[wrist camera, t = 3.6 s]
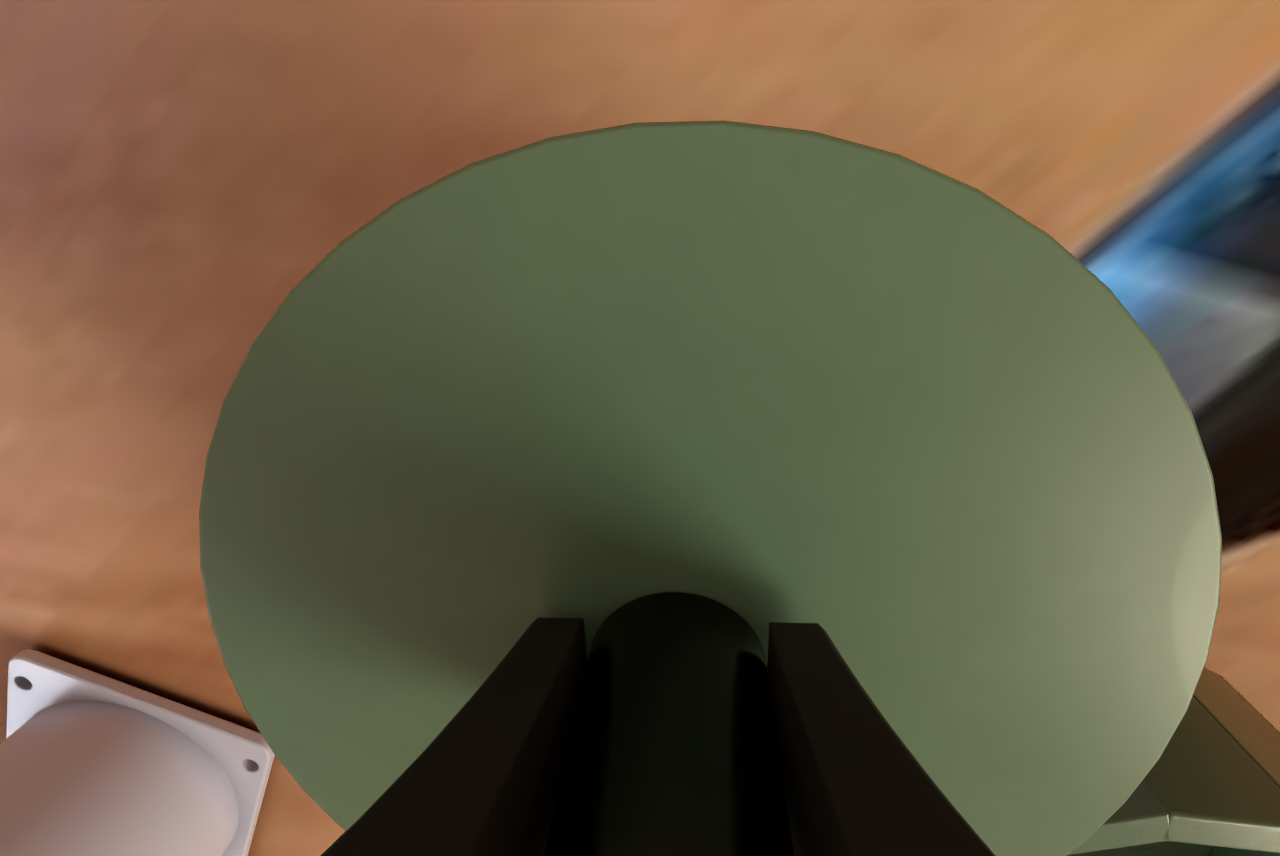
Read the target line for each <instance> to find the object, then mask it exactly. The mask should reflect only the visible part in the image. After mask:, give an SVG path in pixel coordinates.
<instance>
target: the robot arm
mask: <svg viewBox="0 0 1280 856" xmlns="http://www.w3.org/2000/svg"><path fill="white" fill-rule="evenodd" d="M586 665H587V654H586V642H585V631H584V619H583V618H541V617H538V618H537V619H536V620H535V621H534V622H533V623H532V624H531V625H530V626H529V627H528V628H527V630H526V631H525V632H524V633H523V635H522V636H521V637H520V638H519V640H518V641H517V642H516V643H515V645H514V646H513V647H512V648H511V650H510V651H509V652H508V653H507V655H506V656H505V657H504V658H503V660H502V661H501V662H500V663H499V664H498V666H497V667H496V668H495V669H494V671H493V672H492V673H491V674H490V675H489V677H488V678H487V679H486V680H485V681H484V683H483V684H482V685H481V686H480V687H479V689H478V690H477V691H476V692H475V693H474V695H473V696H472V697H471V698H470V699H469V700H468V702H467V703H466V704H465V705H464V706H463V707H462V708H461V710H460V711H459V712H458V713H457V714H456V715H455V716H454V718H453V719H452V720H451V721H450V722H449V723H448V724H447V725H446V727H445V728H444V729H443V730H442V731H441V732H440V733H439V735H438V736H437V737H436V738H435V739H434V740H433V741H432V743H431V744H430V745H429V746H428V747H427V748H426V749H425V750H424V751H423V752H422V754H421V755H420V756H419V757H418V758H417V759H416V760H415V761H414V762H413V763H412V764H411V765H410V766H409V767H408V768H407V769H406V770H405V771H404V772H403V773H402V774H401V775H400V777H399V778H398V779H397V780H396V781H395V782H394V783H393V784H392V785H391V786H390V787H389V788H388V789H387V790H386V791H385V792H384V793H383V794H382V795H381V796H380V797H379V798H378V799H377V800H376V802H375V803H374V804H373V805H372V806H371V807H370V808H369V809H368V810H367V811H366V812H365V813H364V814H363V815H362V816H361V817H360V818H359V819H358V820H357V821H356V822H355V823H354V824H353V825H352V826H351V827H350V828H349V829H348V830H347V831H346V832H345V833H344V834H343V835H341V836H340V837H339V838H338V839H337V840H336V841H335V842H334V843H333V844H332V845H331V846H330V847H329V848H328V849H327V850H326V851H325V852H324V853H323V854H322V855H321V856H544V853H545V849H546V844H547V840H548V835H549V831H550V826H551V822H552V817H553V813H554V808H555V804H556V799H557V795H558V790H559V786H560V781H561V777H562V772H563V768H564V763H565V759H566V754H567V750H568V745H569V741H570V736H571V732H572V727H573V723H574V719H575V714H576V710H577V705H578V701H579V696H580V692H581V687H582V683H583V678H584V674H585V669H586ZM767 671H768V678H769V685H770V692H771V699H772V706H773V713H774V720H775V727H776V734H777V739H778V746H779V753H780V760H781V767H782V774H783V781H784V788H785V795H786V802H787V809H788V816H789V823H790V830H791V837H792V844H793V851H794V856H996V855H995V854H994V853H993V852H992V851H991V850H990V848H989V847H988V846H987V845H986V844H985V843H984V841H983V840H982V839H981V838H980V837H979V836H978V834H977V833H976V832H975V831H974V830H973V828H972V827H971V826H970V825H969V824H968V823H967V821H966V820H965V819H964V818H963V817H962V816H961V814H960V813H959V812H958V811H957V810H956V808H955V807H954V806H953V805H952V804H951V802H950V801H949V800H948V799H947V797H946V796H945V795H944V794H943V793H942V791H941V790H940V789H939V788H938V786H937V785H936V784H935V783H934V781H933V780H932V779H931V778H930V776H929V775H928V774H927V773H926V771H925V770H924V769H923V767H922V766H921V765H920V764H919V762H918V761H917V760H916V758H915V757H914V756H913V754H912V753H911V752H910V751H909V749H908V748H907V747H906V745H905V744H904V743H903V741H902V740H901V739H900V738H899V736H898V735H897V734H896V732H895V731H894V730H893V729H892V727H891V726H890V724H889V723H888V722H887V720H886V719H885V718H884V716H883V715H882V714H881V712H880V711H879V709H878V708H877V707H876V705H875V704H874V702H873V701H872V700H871V698H870V697H869V695H868V694H867V693H866V691H865V690H864V688H863V687H862V685H861V684H860V683H859V681H858V680H857V678H856V677H855V675H854V674H853V672H852V671H851V669H850V668H849V666H848V665H847V663H846V662H845V660H844V659H843V657H842V656H841V654H840V653H839V651H838V650H837V648H836V646H835V645H834V643H833V642H832V640H831V639H830V637H829V635H828V634H827V632H826V631H825V630H824V629H823V628H822V627H821V626H820V625H819V624H818V623H782V622H769V639H768V662H767ZM274 756H275V754H274V753H273V752H272V750H271V748H270V747H269V745H268V744H267V742H266V741H265V739H264V737H263V736H262V734H261V733H259V732H256V731H253V730H251V729H248V728H245V727H242V726H240V725H237V724H234V723H232V722H229V721H226V720H223V719H221V718H218V717H215V716H213V715H210V714H207V713H204V712H202V711H199V710H196V709H194V708H191V707H188V706H185V705H183V704H180V703H177V702H175V701H172V700H169V699H166V698H164V697H161V696H158V695H156V694H153V693H150V692H148V691H145V690H142V689H139V688H137V687H134V686H131V685H129V684H126V683H123V682H120V681H118V680H115V679H112V678H110V677H107V676H104V675H101V674H99V673H96V672H93V671H91V670H88V669H85V668H82V667H80V666H77V665H74V664H72V663H69V662H66V661H63V660H61V659H58V658H55V657H53V656H50V655H47V654H44V653H42V652H39V651H36V650H31V649H28V650H23V651H21V652H20V653H18V654H17V655H16V656H14V657H13V658H11V659H10V661H9V664H8V694H7V728H6V739H5V740H4V741H3V742H2V743H0V856H248V853H249V849H250V845H251V842H252V838H253V834H254V830H255V827H256V823H257V819H258V816H259V812H260V808H261V804H262V801H263V797H264V793H265V789H266V786H267V782H268V778H269V775H270V771H271V767H272V763H273V760H274Z"/></svg>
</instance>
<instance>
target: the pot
mask: <svg viewBox="0 0 1280 856" xmlns="http://www.w3.org/2000/svg"><path fill="white" fill-rule="evenodd" d="M1067 856H1280V732H1279V731H1278V730H1277V729H1276V728H1275V727H1274V726H1273V725H1272V724H1271V723H1270V722H1269V721H1268V720H1266V719H1265V718H1264V717H1263V716H1262V715H1261V714H1260V713H1259V712H1258V711H1257V710H1256V709H1255V708H1254V707H1253V706H1252V705H1251V704H1250V703H1249V702H1248V701H1247V700H1246V699H1245V698H1244V697H1243V696H1242V695H1241V694H1240V693H1239V692H1237V691H1236V690H1235V689H1234V688H1233V687H1232V686H1231V685H1230V684H1229V683H1228V682H1227V681H1226V680H1225V679H1224V678H1223V677H1222V676H1220V675H1218V674H1216V673H1214V672H1212V671H1210V670H1208V669H1206V668H1205V667H1204V668H1203V671H1202V673H1201V676H1200V678H1199V681H1198V683H1197V686H1196V689H1195V691H1194V694H1193V696H1192V699H1191V701H1190V704H1189V707H1188V709H1187V711H1186V713H1185V715H1184V717H1183V718H1182V720H1181V722H1180V724H1179V725H1178V727H1177V729H1176V730H1175V732H1174V734H1173V736H1172V737H1171V739H1170V741H1169V743H1168V744H1167V746H1166V748H1165V750H1164V751H1163V753H1162V755H1161V757H1160V758H1159V760H1158V761H1157V762H1156V764H1155V765H1154V766H1153V767H1152V769H1151V770H1150V771H1149V773H1148V774H1147V775H1146V776H1145V778H1144V779H1143V780H1142V781H1141V783H1140V784H1139V785H1138V787H1137V788H1136V789H1135V790H1134V792H1133V793H1132V794H1131V796H1130V797H1129V798H1128V799H1127V801H1126V802H1125V803H1124V804H1123V805H1122V806H1121V807H1120V808H1119V809H1118V810H1117V811H1116V812H1115V813H1114V814H1113V815H1112V816H1111V817H1110V818H1109V819H1108V820H1107V821H1106V822H1105V823H1104V824H1103V825H1102V826H1101V827H1100V828H1099V829H1098V830H1097V831H1095V832H1094V833H1093V834H1092V835H1091V836H1090V837H1089V838H1088V839H1087V840H1086V841H1085V842H1084V843H1082V844H1081V845H1080V846H1079V847H1077V848H1076V849H1075V850H1073V851H1072V852H1071V853H1069V854H1068V855H1067Z"/></svg>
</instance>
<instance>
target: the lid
mask: <svg viewBox="0 0 1280 856" xmlns="http://www.w3.org/2000/svg"><path fill="white" fill-rule="evenodd" d="M199 521H200V566H201V572H202V578H203V583H204V589H205V595H206V601H207V607H208V612H209V618H210V621H211V624H212V627H213V630H214V633H215V636H216V639H217V642H218V646H219V649H220V652H221V655H222V658H223V661H224V664H225V667H226V669H227V671H228V673H229V675H230V677H231V679H232V681H233V683H234V686H235V688H236V690H237V692H238V694H239V696H240V698H241V700H242V702H243V704H244V707H245V709H246V711H247V712H248V714H249V715H250V717H251V719H252V720H253V722H254V723H255V725H256V726H257V728H258V730H259V731H260V733H261V734H262V736H263V737H264V739H265V741H266V742H267V744H268V745H269V747H270V748H271V750H272V752H273V753H274V754H275V756H276V757H277V758H278V759H279V760H280V762H281V763H282V764H283V765H284V767H285V768H286V769H287V770H288V772H289V773H290V774H291V775H292V776H293V778H294V779H295V780H296V781H297V783H298V784H299V785H300V786H301V788H302V789H303V790H304V791H305V792H306V793H307V794H308V795H309V796H310V797H311V798H312V799H313V800H314V801H315V802H316V803H317V804H318V805H319V806H320V807H321V808H322V809H323V810H324V811H325V812H326V813H327V814H328V815H329V816H330V817H331V818H332V819H333V820H334V821H335V822H336V823H337V824H338V825H339V826H340V827H342V828H343V829H344V830H345V831H347V830H348V829H349V828H350V827H351V826H352V825H353V824H354V823H355V822H356V821H357V820H358V819H359V818H360V817H361V816H362V815H363V814H364V813H365V812H366V811H367V810H368V809H369V808H370V807H371V806H372V805H373V804H374V803H375V802H376V800H377V799H378V798H379V797H380V796H381V795H382V794H383V793H384V792H385V791H386V790H387V789H388V788H389V787H390V786H391V785H392V784H393V783H394V782H395V781H396V780H397V779H398V778H399V777H400V775H401V774H402V773H403V772H404V771H405V770H406V769H407V768H408V767H409V766H410V765H411V764H412V763H413V762H414V761H415V760H416V759H417V758H418V757H419V756H420V755H421V754H422V752H423V751H424V750H425V749H426V748H427V747H428V746H429V745H430V744H431V743H432V741H433V740H434V739H435V738H436V737H437V736H438V735H439V733H440V732H441V731H442V730H443V729H444V728H445V727H446V725H447V724H448V723H449V722H450V721H451V720H452V719H453V718H454V716H455V715H456V714H457V713H458V712H459V711H460V710H461V708H462V707H463V706H464V705H465V704H466V703H467V702H468V700H469V699H470V698H471V697H472V696H473V695H474V693H475V692H476V691H477V690H478V689H479V687H480V686H481V685H482V684H483V683H484V681H485V680H486V679H487V678H488V677H489V675H490V674H491V673H492V672H493V671H494V669H495V668H496V667H497V666H498V664H499V663H500V662H501V661H502V660H503V658H504V657H505V656H506V655H507V653H508V652H509V651H510V650H511V648H512V647H513V646H514V645H515V643H516V642H517V641H518V640H519V638H520V637H521V636H522V635H523V633H524V632H525V631H526V630H527V628H528V627H529V626H530V625H531V624H532V623H533V622H534V621H535V620H536V619H537V618H538V617H541V618H583V619H584V631H585V642H586V654H587V665H586V669H585V674H584V678H583V683H582V687H581V692H580V696H579V701H578V705H577V710H576V714H575V719H574V723H573V727H572V732H571V736H570V741H569V745H568V750H567V754H566V759H565V763H564V768H563V772H562V777H561V781H560V786H559V790H558V795H557V799H556V804H555V808H554V813H553V817H552V822H551V826H550V831H549V835H548V840H547V844H546V849H545V853H544V856H794V851H793V844H792V837H791V830H790V823H789V816H788V809H787V802H786V795H785V788H784V781H783V774H782V767H781V760H780V753H779V746H778V739H777V734H776V727H775V720H774V713H773V706H772V699H771V692H770V685H769V678H768V671H767V662H768V639H769V622H782V623H818V624H819V625H820V626H821V627H822V628H823V629H824V630H825V631H826V632H827V634H828V635H829V637H830V639H831V640H832V642H833V643H834V645H835V646H836V648H837V650H838V651H839V653H840V654H841V656H842V657H843V659H844V660H845V662H846V663H847V665H848V666H849V668H850V669H851V671H852V672H853V674H854V675H855V677H856V678H857V680H858V681H859V683H860V684H861V685H862V687H863V688H864V690H865V691H866V693H867V694H868V695H869V697H870V698H871V700H872V701H873V702H874V704H875V705H876V707H877V708H878V709H879V711H880V712H881V714H882V715H883V716H884V718H885V719H886V720H887V722H888V723H889V724H890V726H891V727H892V729H893V730H894V731H895V732H896V734H897V735H898V736H899V738H900V739H901V740H902V741H903V743H904V744H905V745H906V747H907V748H908V749H909V751H910V752H911V753H912V754H913V756H914V757H915V758H916V760H917V761H918V762H919V764H920V765H921V766H922V767H923V769H924V770H925V771H926V773H927V774H928V775H929V776H930V778H931V779H932V780H933V781H934V783H935V784H936V785H937V786H938V788H939V789H940V790H941V791H942V793H943V794H944V795H945V796H946V797H947V799H948V800H949V801H950V802H951V804H952V805H953V806H954V807H955V808H956V810H957V811H958V812H959V813H960V814H961V816H962V817H963V818H964V819H965V820H966V821H967V823H968V824H969V825H970V826H971V827H972V828H973V830H974V831H975V832H976V833H977V834H978V836H979V837H980V838H981V839H982V840H983V841H984V843H985V844H986V845H987V846H988V847H989V848H990V850H991V851H992V852H993V853H994V854H995V855H996V856H1067V855H1068V854H1069V853H1071V852H1072V851H1073V850H1075V849H1076V848H1077V847H1079V846H1080V845H1081V844H1082V843H1084V842H1085V841H1086V840H1087V839H1088V838H1089V837H1090V836H1091V835H1092V834H1093V833H1094V832H1095V831H1097V830H1098V829H1099V828H1100V827H1101V826H1102V825H1103V824H1104V823H1105V822H1106V821H1107V820H1108V819H1109V818H1110V817H1111V816H1112V815H1113V814H1114V813H1115V812H1116V811H1117V810H1118V809H1119V808H1120V807H1121V806H1122V805H1123V804H1124V803H1125V802H1126V801H1127V799H1128V798H1129V797H1130V796H1131V794H1132V793H1133V792H1134V790H1135V789H1136V788H1137V787H1138V785H1139V784H1140V783H1141V781H1142V780H1143V779H1144V778H1145V776H1146V775H1147V774H1148V773H1149V771H1150V770H1151V769H1152V767H1153V766H1154V765H1155V764H1156V762H1157V761H1158V760H1159V758H1160V757H1161V755H1162V753H1163V751H1164V750H1165V748H1166V746H1167V744H1168V743H1169V741H1170V739H1171V737H1172V736H1173V734H1174V732H1175V730H1176V729H1177V727H1178V725H1179V724H1180V722H1181V720H1182V718H1183V717H1184V715H1185V713H1186V711H1187V709H1188V707H1189V704H1190V701H1191V699H1192V696H1193V694H1194V691H1195V689H1196V686H1197V683H1198V681H1199V678H1200V676H1201V673H1202V671H1203V668H1204V665H1205V663H1206V660H1207V658H1208V653H1209V648H1210V644H1211V639H1212V634H1213V629H1214V625H1215V620H1216V615H1217V610H1218V606H1219V601H1220V578H1221V550H1222V536H1221V529H1220V522H1219V515H1218V508H1217V501H1216V494H1215V487H1214V480H1213V475H1212V472H1211V469H1210V466H1209V463H1208V460H1207V457H1206V454H1205V451H1204V448H1203V445H1202V442H1201V439H1200V436H1199V433H1198V430H1197V427H1196V424H1195V421H1194V418H1193V415H1192V412H1191V410H1190V408H1189V406H1188V404H1187V403H1186V401H1185V399H1184V397H1183V395H1182V393H1181V392H1180V390H1179V388H1178V386H1177V384H1176V382H1175V381H1174V379H1173V377H1172V375H1171V373H1170V371H1169V370H1168V368H1167V366H1166V364H1165V362H1164V361H1163V359H1162V357H1161V355H1160V353H1159V351H1158V350H1157V348H1156V346H1155V345H1154V344H1153V343H1152V341H1151V340H1150V339H1149V338H1148V336H1147V335H1146V334H1145V333H1144V331H1143V330H1142V329H1141V328H1140V326H1139V325H1138V324H1137V323H1136V321H1135V320H1134V319H1133V318H1132V316H1131V315H1130V314H1129V313H1128V311H1127V310H1126V309H1125V308H1124V306H1123V305H1122V304H1121V303H1120V301H1119V300H1118V299H1117V298H1116V296H1115V295H1114V294H1113V292H1112V291H1111V290H1110V289H1109V288H1108V287H1107V286H1106V285H1105V284H1104V283H1103V282H1102V281H1100V280H1099V279H1098V278H1097V277H1096V276H1095V275H1094V274H1093V273H1091V272H1090V271H1089V270H1088V269H1087V268H1086V267H1085V266H1084V265H1083V264H1081V263H1080V262H1079V261H1078V260H1077V259H1076V258H1075V257H1074V256H1072V255H1071V254H1070V253H1069V252H1068V251H1067V250H1066V249H1065V248H1064V247H1062V246H1061V245H1060V244H1059V243H1058V242H1057V241H1056V240H1055V239H1053V238H1052V237H1051V236H1050V235H1049V234H1047V233H1046V232H1044V231H1042V230H1041V229H1039V228H1038V227H1036V226H1035V225H1033V224H1032V223H1030V222H1028V221H1027V220H1025V219H1024V218H1022V217H1021V216H1019V215H1017V214H1016V213H1014V212H1013V211H1011V210H1010V209H1008V208H1007V207H1005V206H1003V205H1002V204H1000V203H999V202H997V201H996V200H994V199H992V198H991V197H989V196H988V195H986V194H985V193H983V192H982V191H980V190H978V189H976V188H974V187H971V186H969V185H967V184H965V183H962V182H960V181H958V180H955V179H953V178H951V177H949V176H946V175H944V174H942V173H940V172H937V171H935V170H933V169H930V168H928V167H926V166H924V165H921V164H919V163H917V162H915V161H912V160H910V159H908V158H906V157H903V156H901V155H898V154H895V153H891V152H887V151H884V150H880V149H876V148H873V147H869V146H865V145H862V144H858V143H854V142H851V141H847V140H843V139H840V138H836V137H832V136H829V135H825V134H821V133H818V132H814V131H806V130H798V129H789V128H781V127H773V126H764V125H756V124H748V123H740V122H731V121H691V122H651V123H632V124H626V125H620V126H615V127H609V128H603V129H597V130H591V131H585V132H579V133H574V134H568V135H562V136H556V137H550V138H547V139H544V140H541V141H538V142H535V143H532V144H529V145H526V146H523V147H520V148H517V149H514V150H511V151H508V152H505V153H501V154H498V155H495V156H492V157H489V158H486V159H483V160H480V161H477V162H474V163H471V164H469V165H467V166H465V167H463V168H461V169H459V170H457V171H455V172H453V173H451V174H449V175H447V176H445V177H443V178H441V179H439V180H437V181H435V182H433V183H431V184H429V185H427V186H425V187H423V188H422V189H420V190H418V191H416V192H414V193H412V194H410V195H408V196H406V197H404V198H402V199H400V200H399V201H397V202H396V203H395V204H393V205H392V206H390V207H389V208H388V209H386V210H385V211H383V212H382V213H381V214H379V215H378V216H376V217H375V218H374V219H372V220H371V221H369V222H368V223H367V224H365V225H364V226H362V227H361V228H360V229H358V230H357V231H355V232H354V233H353V234H351V235H350V236H348V237H347V238H346V239H344V240H343V241H341V242H340V243H339V244H338V245H337V246H336V247H335V248H334V249H333V250H332V251H331V252H330V253H329V254H328V255H327V256H326V257H325V258H324V259H323V260H322V261H321V262H320V263H319V264H318V265H317V266H316V267H315V268H314V269H313V270H312V271H311V272H310V273H309V274H308V275H307V276H306V277H305V278H304V279H303V280H302V281H301V282H300V283H299V284H298V285H297V286H296V287H295V288H294V289H293V290H292V291H291V292H290V293H289V295H288V296H287V297H286V299H285V300H284V301H283V303H282V304H281V306H280V307H279V308H278V310H277V311H276V312H275V314H274V315H273V317H272V318H271V319H270V321H269V322H268V323H267V325H266V326H265V328H264V329H263V330H262V332H261V333H260V334H259V336H258V337H257V339H256V340H255V341H254V343H253V344H252V346H251V348H250V350H249V352H248V354H247V356H246V358H245V360H244V362H243V364H242V366H241V368H240V370H239V372H238V374H237V376H236V378H235V380H234V382H233V384H232V386H231V388H230V390H229V392H228V394H227V396H226V398H225V400H224V403H223V406H222V409H221V412H220V416H219V419H218V422H217V425H216V429H215V432H214V435H213V438H212V442H211V445H210V448H209V451H208V455H207V459H206V467H205V474H204V481H203V489H202V496H201V503H200V510H199Z"/></svg>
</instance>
